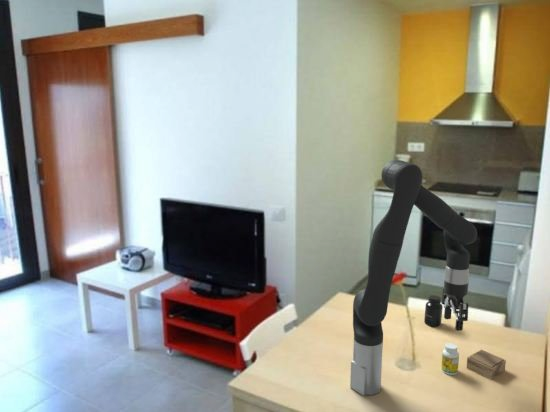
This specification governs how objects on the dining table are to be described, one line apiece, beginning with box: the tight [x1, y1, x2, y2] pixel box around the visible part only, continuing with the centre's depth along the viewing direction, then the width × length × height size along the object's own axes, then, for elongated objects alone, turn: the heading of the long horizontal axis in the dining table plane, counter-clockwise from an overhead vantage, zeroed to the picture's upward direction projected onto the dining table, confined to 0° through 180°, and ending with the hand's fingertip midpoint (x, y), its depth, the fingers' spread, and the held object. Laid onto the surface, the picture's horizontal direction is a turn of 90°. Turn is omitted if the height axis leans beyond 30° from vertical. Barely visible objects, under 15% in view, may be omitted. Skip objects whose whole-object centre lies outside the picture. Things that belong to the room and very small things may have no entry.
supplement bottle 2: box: [441, 342, 460, 376], centre depth 161 cm, size 5×5×10 cm
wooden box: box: [466, 349, 507, 380], centre depth 162 cm, size 9×9×4 cm
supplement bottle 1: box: [424, 294, 444, 328], centre depth 195 cm, size 7×7×12 cm
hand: (452, 324), depth 158 cm, fingers open, 8 cm apart
